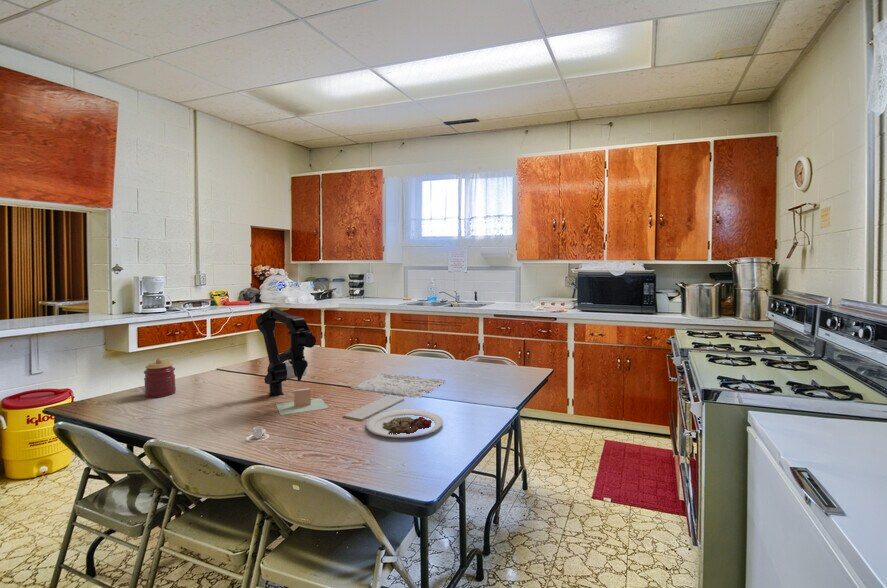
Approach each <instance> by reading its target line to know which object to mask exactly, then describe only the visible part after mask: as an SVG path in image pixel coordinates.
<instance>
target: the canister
mask: <svg viewBox="0 0 887 588" xmlns="http://www.w3.org/2000/svg"><path fill="white" fill-rule="evenodd" d="M173 365H174V364H173V362H172V363H171V362H170V361H166V360H165V361H164V360H163V359H162V358H157V359H155V361H154V362H150V363H149V364H147V365H145V370H144V371H143V374H144V375H145V376H144V378H143V380H144V395H145V397H146V398H151V399H152V398H162V397H167V396H171V395H174V394H175V393H176V390H177V387H176V374H175V370H176V368H175V367H173Z"/></svg>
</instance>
